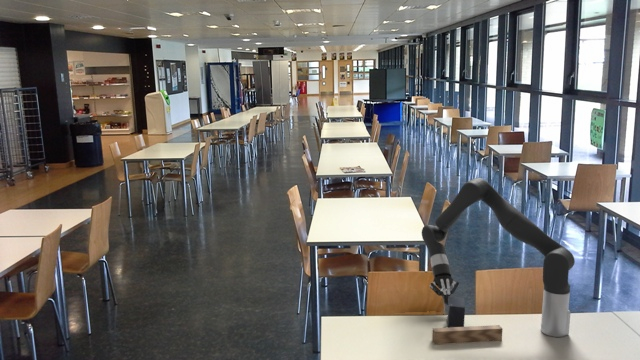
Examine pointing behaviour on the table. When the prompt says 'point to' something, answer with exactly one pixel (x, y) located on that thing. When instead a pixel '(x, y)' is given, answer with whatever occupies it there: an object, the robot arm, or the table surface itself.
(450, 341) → the walnut board
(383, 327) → the table surface
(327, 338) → the table surface
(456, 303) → the small box
